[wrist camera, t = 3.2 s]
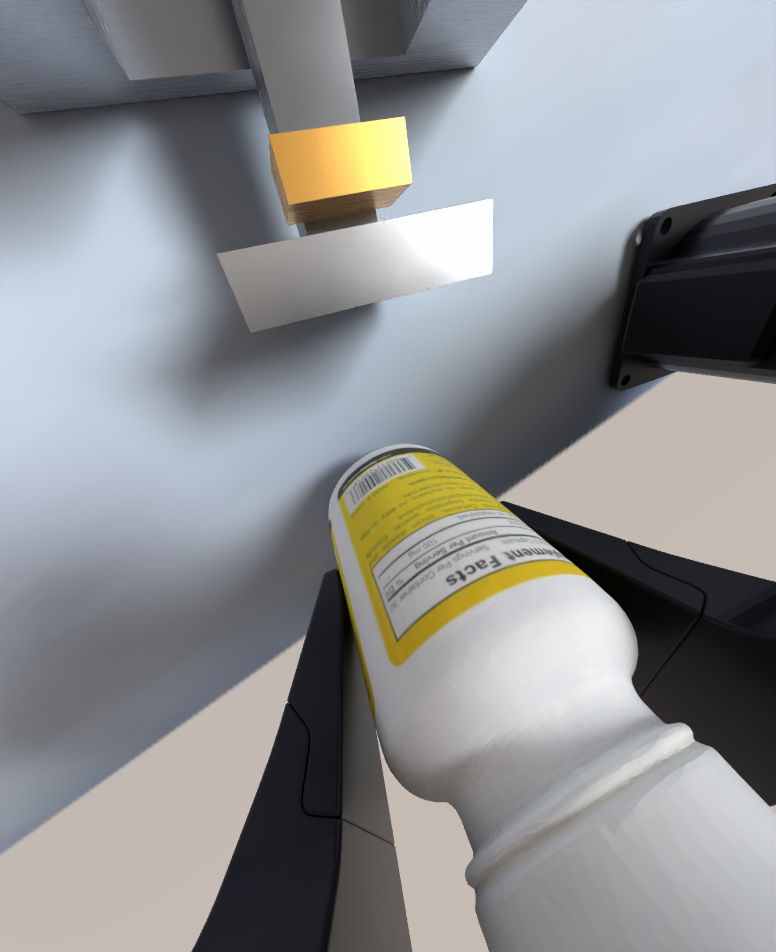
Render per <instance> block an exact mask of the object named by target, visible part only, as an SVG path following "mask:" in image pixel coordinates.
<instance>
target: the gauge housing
mask: <svg viewBox="0 0 776 952" xmlns="http://www.w3.org/2000/svg"><path fill="white" fill-rule="evenodd" d="M340 2H341V8H342V14H343V19H344V25H345V31H346V37H347V43H348V49H349V55H350V61H351V67H352V73H353V79H363V78H372V77H382V76H391V75H401V74H411V73H420V72H430V71H439V70H449V69H458V68H468V67H477V65H478V64H479V63H480V62H481V60H482V59H483V58H484V56H485V55H486V54H487V52H488V51H489V50H490V48H491V47H492V46H493V45H494V43H495V42H496V41H497V39H498V38H499V37H500V35H501V34H502V33H503V32H504V30H505V29H506V28H507V26H508V25H509V24H510V22H511V21H512V20H513V18H514V17H515V16H516V15H517V13H518V12H519V11H520V9H521V8H522V7H523V5H524V4H525V3H526V2H527V0H340ZM248 90H257V87H256V84H255V81H254V77H253V74H252V70H251V67H250V63H249V60H248V56H247V53H246V49H245V46H244V43H243V39H242V36H241V32H240V29H239V25H238V22H237V18H236V15H235V12H234V8H233V5H232V1H231V0H0V99H1V100H2V101H3V102H5V103H6V104H7V105H9V106H10V107H11V108H12V109H14V110H15V111H16V112H18V113H19V114H29V113H38V112H48V111H57V110H67V109H76V108H86V107H96V106H105V105H115V104H124V103H134V102H143V101H153V100H162V99H172V98H181V97H191V96H201V95H210V94H220V93H229V92H239V91H248Z"/></svg>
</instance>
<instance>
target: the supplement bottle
mask: <svg viewBox="0 0 776 952" xmlns="http://www.w3.org/2000/svg"><path fill="white" fill-rule="evenodd" d="M328 521H329V527H330V533H331V538H332V542H333V547H334V552H335V556H336V560H337V564H338V568H339V573H340V577H341V581H342V585H343V590H344V595H345V599H346V603H347V607H348V612H349V616H350V620H351V624H352V628H353V633H354V637H355V642H356V646H357V650H358V654H359V659H360V663H361V667H362V672H363V676H364V680H365V685H366V689H367V693H368V698H369V702H370V706H371V711H372V715H373V719H374V723H375V727H376V730H377V734H378V737H379V741H380V745H381V748H382V751H383V754H384V757H385V760H386V763H387V764H388V767H389V768H390V771H391V772H392V774H393V775H394V776H395V778H396V779H397V780H398V782H399V783H400V784H401V785H402V786H403V787H404V788H405V789H407V790H408V791H409V792H410V793H412V794H413V795H415V796H417V797H419V798H422V799H424V800H428V801H433V802H448V803H449V804H451V805H452V806H453V807H454V808H455V809H456V811H457V813H458V815H459V816H460V818H461V820H462V823H463V825H464V829H465V831H466V834H467V837H468V839H469V842H470V844H471V847H472V850H473V859H472V860H471V862H470V863H469V865H468V866H467V868H466V872H465V877H466V881H467V883H468V885H470V886H471V887H472V888H474V889H475V894H476V904H475V905H476V906H475V910H476V914H477V917H478V921H479V924H480V927H481V929H482V932H483V935H484V937H485V940H486V943H487V946H488V950H489V952H776V813H775V812H774V811H773V810H772V809H771V808H770V807H769V806H768V805H767V803H766V802H765V801H764V800H763V799H762V798H761V797H760V796H759V795H758V794H757V793H756V792H755V791H754V790H753V789H752V788H751V787H750V786H749V785H748V784H747V783H746V782H745V781H744V780H743V779H742V778H741V777H740V776H739V775H738V773H737V772H736V771H735V770H734V769H733V768H732V767H731V766H730V765H729V764H728V763H727V762H726V761H725V760H724V758H723V757H722V756H721V755H720V754H719V753H718V752H717V751H716V750H714V749H713V748H712V747H710V746H707V745H704V744H701V743H699V742H697V741H695V740H694V738H693V732H692V730H691V729H690V727H689V726H687V725H686V724H684V723H674V724H665V723H664V722H663V721H662V720H661V719H659V718H658V717H657V716H656V715H655V714H654V713H653V712H652V711H651V710H650V709H649V707H648V706H647V705H646V704H645V703H644V702H643V701H642V700H641V699H640V697H639V696H638V694H637V693H636V691H635V689H634V687H633V685H632V679H631V678H632V676H633V674H634V671H635V669H636V665H637V659H638V644H637V638H636V634H635V631H634V628H633V626H632V624H631V622H630V620H629V618H628V617H627V615H626V613H625V612H624V611H623V610H622V608H621V607H620V606H619V605H618V603H617V602H616V601H615V600H614V599H613V598H612V597H610V596H609V595H608V594H607V593H606V592H605V591H604V590H603V589H602V588H601V587H599V586H598V585H597V584H596V583H595V582H594V581H593V580H592V579H591V578H590V577H589V576H587V575H586V574H585V573H584V572H583V571H581V570H580V569H579V568H578V567H577V566H575V565H574V564H573V563H572V562H571V561H569V560H568V559H567V558H566V557H564V556H563V555H562V554H561V553H560V552H558V551H557V550H556V549H555V548H554V547H552V546H551V545H550V544H549V543H547V542H546V541H545V540H544V539H543V538H542V537H540V536H539V535H538V534H537V533H536V532H534V531H533V530H532V529H531V528H529V527H528V526H527V525H526V524H525V523H524V522H522V521H521V520H520V519H519V518H518V517H517V516H515V515H514V514H513V513H512V512H511V511H509V510H508V509H507V508H506V507H504V506H503V505H502V504H501V503H500V502H498V501H497V500H496V499H495V498H494V497H492V496H491V495H490V494H489V493H488V492H487V491H485V490H484V489H483V488H482V487H480V486H479V485H478V484H477V483H476V482H474V481H473V480H472V479H471V478H470V477H468V476H467V475H466V474H465V473H464V472H462V471H461V470H460V469H459V468H457V467H456V466H455V465H454V464H453V463H451V462H450V461H449V460H447V459H446V458H445V457H443V456H442V455H441V454H439V453H438V452H436V451H434V450H432V449H430V448H427V447H424V446H420V445H414V444H396V445H391V446H387V447H383V448H380V449H377V450H375V451H373V452H371V453H369V454H367V455H366V456H364V457H362V458H361V459H359V460H358V461H357V462H355V463H354V464H353V465H352V466H351V467H350V468H349V469H348V470H347V471H346V472H345V473H344V474H343V476H342V477H341V479H340V480H339V482H338V483H337V485H336V487H335V489H334V491H333V493H332V496H331V499H330V504H329V510H328Z"/></svg>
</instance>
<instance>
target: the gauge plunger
mask: <svg viewBox="0 0 776 952" xmlns="http://www.w3.org/2000/svg"><path fill="white" fill-rule="evenodd" d="M231 1H232V5H233V8H234V12H235V15H236V18H237V22H238V25H239V29H240V32H241V36H242V39H243V43H244V46H245V49H246V53H247V56H248V60H249V63H250V67H251V70H252V74H253V77H254V81H255V84H256V87H257V91H258V94H259V98H260V101H261V105H262V108H263V112H264V115H265V118H266V122H267V125H268V129H269V132H270V135H268V136H269V149H270V162H271V172H272V176H273V179H274V182H275V185H276V189H277V192H278V195H279V199H280V202H281V205H282V209H283V212H284V215H285V218H286V222H287V225H288V226H289V225H294V224H296V225H297V229H298V232H299V236H300V237H299V238H294V239H289V240H284V241H279V242H274V243H269V244H264V245H259V246H254V247H248V248H243V249H238V250H233V251H228V252H223V253H218V254H217V256H218V258H219V261H220V263H221V265H222V268H223V270H224V273H225V275H226V277H227V280H228V282H229V284H230V287H231V289H232V291H233V294H234V296H235V298H236V301H237V303H238V305H239V308H240V310H241V312H242V315H243V317H244V319H245V322H246V324H247V326H248V329H249V331H250V333H254V332H258V331H262V330H266V329H270V328H274V327H278V326H282V325H286V324H290V323H294V322H298V321H302V320H306V319H310V318H314V317H318V316H322V315H326V314H330V313H334V312H338V311H342V310H346V309H350V308H354V307H358V306H362V305H366V304H370V303H374V302H378V301H382V300H387V299H391V298H395V297H399V296H403V295H407V294H411V293H415V292H419V291H423V290H427V289H431V288H435V287H439V286H443V285H447V284H451V283H455V282H459V281H463V280H467V279H471V278H475V277H479V276H483V275H487V274H491V273H492V199H491V200H486V201H481V202H476V203H471V204H466V205H461V206H456V207H451V208H446V209H441V210H436V211H431V212H426V213H421V214H416V215H410V216H405V217H400V218H395V219H390V220H385V221H380V222H377V216H376V210H375V209H379V208H384V207H389V206H391V205H392V204H393V203H394V202H395V200H396V199H397V198H398V197H399V196H400V195H401V194H402V193H403V192H404V191H405V190H406V189H407V188H408V187H409V186H410V185H411V184H412V178H411V169H410V160H409V151H408V142H407V133H406V124H405V117H398V118H391V119H383V120H376V121H368V122H361V121H360V115H359V109H358V103H357V97H356V91H355V85H354V79H353V73H352V67H351V61H350V55H349V49H348V43H347V37H346V31H345V25H344V19H343V14H342V8H341V2H340V0H231Z"/></svg>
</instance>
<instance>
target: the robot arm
mask: <svg viewBox="0 0 776 952" xmlns="http://www.w3.org/2000/svg"><path fill="white" fill-rule="evenodd" d="M677 371H679V372H687V373H695V374H703V375H710V376H718V377H725V378H733V379H741V380H749V381H756V382H764V383H772V384H776V184H772V185H768V186H763V187H759V188H755V189H750V190H746V191H742V192H737V193H733V194H729V195H725V196H720V197H716V198H712V199H707V200H703V201H699V202H694V203H690V204H686V205H681V206H677V207H673V208H669V209H666V210H662V211H659V212H656V213H655V214H653V215H652V216H651V217H650V219H649V220H648V222H647V224H646V225H645V228H644V231H643V235H642V240H641V244H640V248H639V253H638V257H637V261H636V266H635V270H634V275H633V279H632V283H631V288H630V292H629V296H628V301H627V305H626V309H625V314H624V318H623V322H622V327H621V331H620V336H619V340H618V344H617V349H616V353H615V357H614V362H613V366H612V370H611V375H610V379H609V388H610V389H612V390H616V391H624V390H627V389H630V388H632V387H635V386H638V385H641V384H643V383H646V382H649V381H652V380H654V379H657V378H660V377H663V376H666V375H668V374H671V373H674V372H677ZM500 503H501V504H502V505H503V506H504V507H506V508H507V509H508V510H509V511H511V512H512V513H513V514H514V515H515V516H517V517H518V518H519V519H520V520H521V521H522V522H524V523H525V524H526V525H527V526H528V527H529V528H531V529H532V530H533V531H534V532H536V533H537V534H538V535H539V536H540V537H542V538H543V539H544V540H545V541H546V542H547V543H549V544H550V545H551V546H552V547H554V548H555V549H556V550H557V551H558V552H560V553H561V554H562V555H563V556H564V557H566V558H567V559H568V560H569V561H571V562H572V563H573V564H574V565H575V566H577V567H578V568H579V569H580V570H581V571H583V572H584V573H585V574H586V575H587V576H589V577H590V578H591V579H592V580H593V581H594V582H595V583H596V584H597V585H598V586H599V587H601V588H602V589H603V590H604V591H605V592H606V593H607V594H608V595H609V596H610V597H612V598H613V599H614V600H615V601H616V602H617V603H618V605H619V606H620V607H621V608H622V610H623V611H624V612H625V613H626V615H627V617H628V618H629V620H630V622H631V624H632V626H633V628H634V631H635V634H636V638H637V644H638V659H637V665H636V669H635V671H634V674H633V676H632V678H631V679H632V685H633V687H634V689H635V691H636V693H637V694H638V696H639V697H640V699H641V700H642V701H643V702H644V703H645V704H646V705H647V706H648V707H649V709H650V710H651V711H652V712H653V713H654V714H655V715H656V716H657V717H658V718H659V719H661V720H662V721H663V722H664V723H665V724H674V723H684V724H686V725H687V726H689V727H690V729H691V730H692V732H693V738H694V740H695V741H697V742H699V743H701V744H704V745H707V746H710V747H712V748H713V749H714V750H716V751H717V752H718V753H719V754H720V755H721V756H722V757H723V758H724V760H725V761H726V762H727V763H728V764H729V765H730V766H731V767H732V768H733V769H734V770H735V771H736V772H737V773H738V775H739V776H740V777H741V778H742V779H743V780H744V781H745V782H746V783H747V784H748V785H749V786H750V787H751V788H752V789H753V790H754V791H755V792H756V793H757V794H758V795H759V796H760V797H761V798H762V799H763V800H764V801H765V802H766V803H767V805H768V806H769V807H770V806H774V805H776V582H774V581H770V580H765V579H762V578H758V577H754V576H750V575H746V574H742V573H739V572H735V571H731V570H727V569H723V568H719V567H716V566H712V565H708V564H704V563H700V562H697V561H693V560H689V559H686V558H682V557H679V556H675V555H671V554H668V553H665V552H661V551H658V550H655V549H652V548H648V547H645V546H642V545H639V544H636V543H633V542H630V541H628V542H626V541H625V540H623V539H620V538H617V537H614V536H611V535H607V534H605V533H601V532H598V531H595V530H592V529H589V528H586V527H583V526H580V525H577V524H573V523H570V522H567V521H564V520H561V519H558V518H555V517H552V516H549V515H546V514H543V513H540V512H536V511H533V510H530V509H527V508H524V507H520V506H518V505H514V504H512V503H508V502H505V501H501V502H500ZM287 701H288V703H287V704H286V706H285V709H284V712H283V716H282V719H281V723H280V726H279V729H278V732H277V736H276V739H275V742H274V745H273V748H272V751H271V754H270V757H269V760H268V763H267V765H266V768H265V771H264V774H263V776H262V779H261V782H260V785H259V788H258V790H257V793H256V795H255V798H254V801H253V803H252V806H251V808H250V811H249V814H248V816H247V819H246V822H245V824H244V827H243V830H242V832H241V835H240V838H239V840H238V843H237V845H236V848H235V851H234V854H233V856H232V859H231V861H230V864H229V866H228V869H227V872H226V875H225V877H224V880H223V882H222V885H221V887H220V890H219V892H218V895H217V898H216V900H215V903H214V905H213V907H212V909H211V912H210V914H209V916H208V919H207V921H206V923H205V925H204V927H203V929H202V931H201V933H200V936H199V938H198V940H197V942H196V944H195V946H194V948H193V950H192V952H412V948H411V941H410V935H409V929H408V923H407V917H406V911H405V904H404V899H403V892H402V886H401V880H400V874H399V868H398V861H397V856H396V850H395V846H394V838H393V831H392V826H391V819H390V813H389V807H388V801H387V795H386V789H385V783H384V777H383V771H382V764H381V759H380V752H379V747H378V740H377V734H376V728H375V723H374V719H373V715H372V711H371V706H370V702H369V698H368V693H367V689H366V685H365V680H364V676H363V672H362V667H361V663H360V659H359V654H358V650H357V646H356V642H355V637H354V633H353V628H352V624H351V620H350V616H349V612H348V607H347V603H346V599H345V595H344V590H343V585H342V581H341V577H340V573H339V571H338V569H334V570H331V571H329V572H327V573H325V574H324V577H323V580H322V583H321V587H320V590H319V594H318V597H317V600H316V604H315V607H314V611H313V614H312V617H311V621H310V624H309V628H308V631H307V635H306V638H305V641H304V645H303V648H302V652H301V655H300V658H299V662H298V665H297V669H296V672H295V675H294V679H293V682H292V686H291V689H290V693H289V696H288V700H287Z"/></svg>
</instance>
